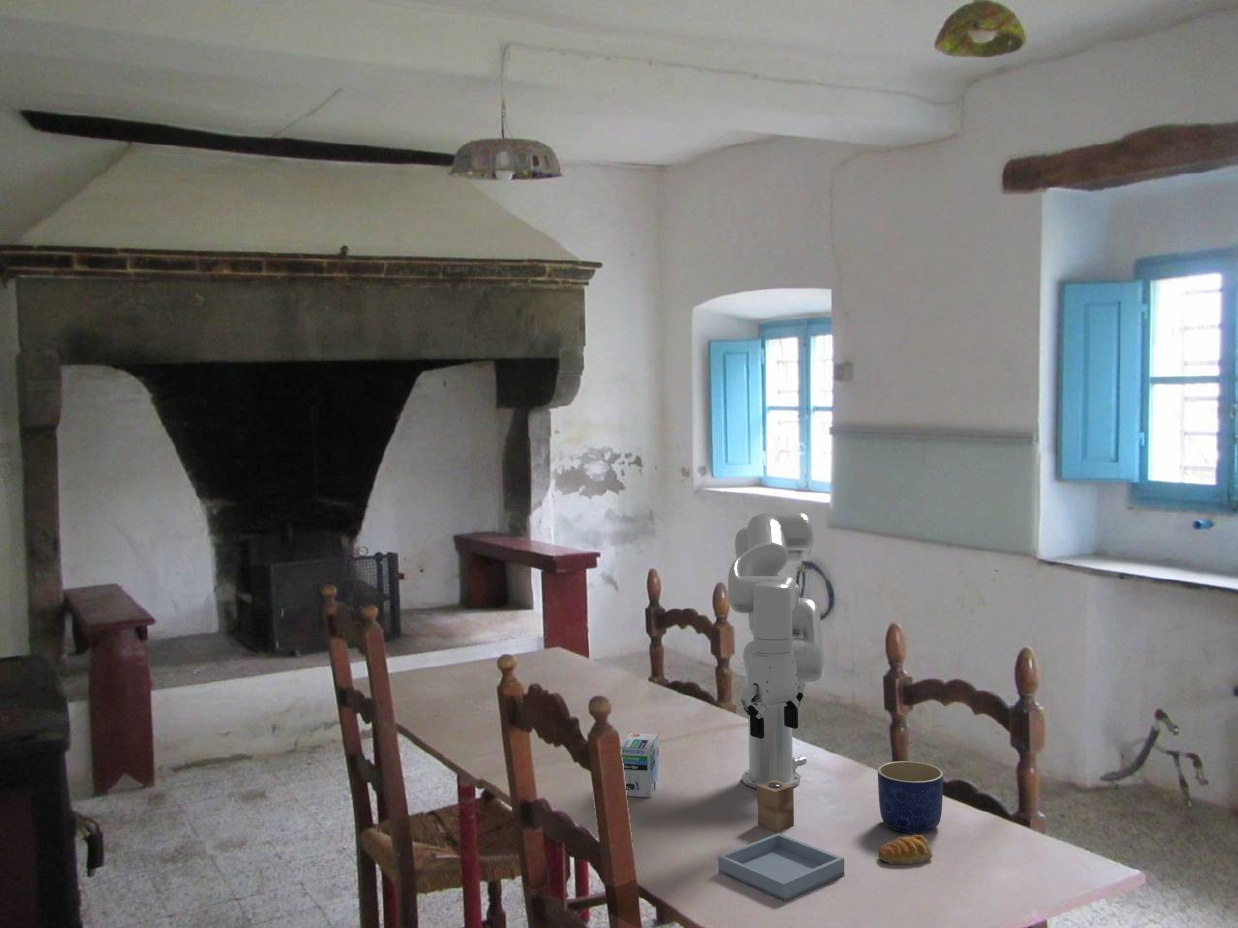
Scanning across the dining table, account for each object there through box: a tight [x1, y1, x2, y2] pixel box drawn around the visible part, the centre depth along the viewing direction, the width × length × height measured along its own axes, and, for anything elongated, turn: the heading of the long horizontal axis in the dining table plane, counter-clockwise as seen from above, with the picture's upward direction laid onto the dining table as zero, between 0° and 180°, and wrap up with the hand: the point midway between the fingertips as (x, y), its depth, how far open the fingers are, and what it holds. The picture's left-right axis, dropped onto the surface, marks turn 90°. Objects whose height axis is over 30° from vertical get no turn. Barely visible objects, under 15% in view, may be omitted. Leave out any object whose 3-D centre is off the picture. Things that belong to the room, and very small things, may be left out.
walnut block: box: [756, 780, 795, 833], centre depth 219 cm, size 5×5×8 cm
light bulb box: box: [620, 732, 660, 798], centre depth 242 cm, size 11×7×11 cm, turn 168°
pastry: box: [878, 833, 933, 865], centre depth 203 cm, size 9×7×4 cm
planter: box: [877, 760, 944, 834], centre depth 217 cm, size 12×12×11 cm
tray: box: [717, 832, 845, 903], centre depth 197 cm, size 16×16×3 cm
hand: (774, 732), depth 218 cm, fingers open, 9 cm apart
